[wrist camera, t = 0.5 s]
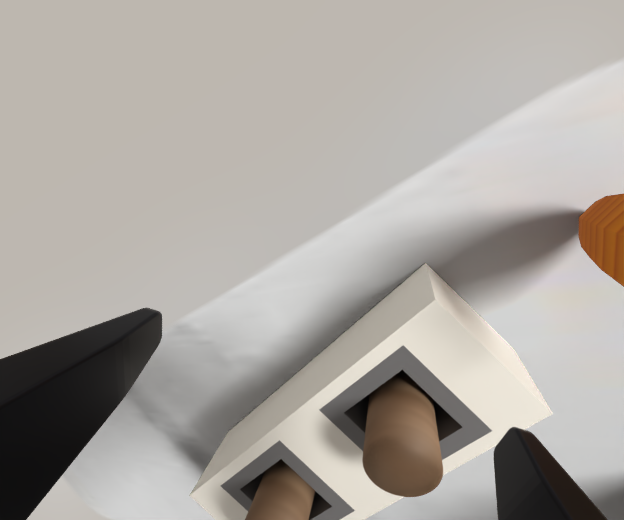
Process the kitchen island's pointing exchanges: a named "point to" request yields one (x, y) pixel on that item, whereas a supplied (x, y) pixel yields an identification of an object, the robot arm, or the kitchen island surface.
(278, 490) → the peg far
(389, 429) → the peg near
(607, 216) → the carrot
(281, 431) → the white peg holder block
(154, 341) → the robot arm
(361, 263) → the kitchen island surface
